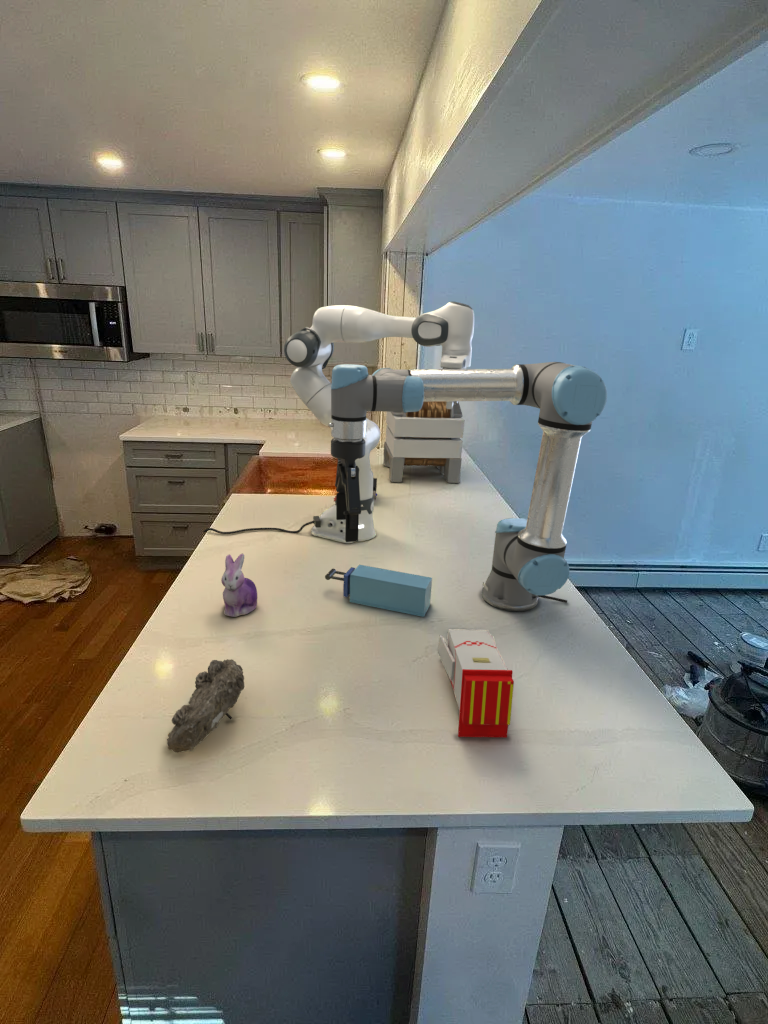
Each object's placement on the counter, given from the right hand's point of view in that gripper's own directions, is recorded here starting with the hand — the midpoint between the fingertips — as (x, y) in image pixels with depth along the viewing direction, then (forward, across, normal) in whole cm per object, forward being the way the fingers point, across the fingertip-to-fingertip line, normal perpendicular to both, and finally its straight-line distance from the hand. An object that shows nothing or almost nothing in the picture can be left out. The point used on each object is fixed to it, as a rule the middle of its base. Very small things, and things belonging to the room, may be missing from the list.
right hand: (346, 529), depth 130 cm
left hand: (-20, -46, +40) cm, 64 cm away
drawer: (+26, -14, +9) cm, 31 cm away
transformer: (+27, -135, +58) cm, 149 cm away
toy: (+27, +28, +22) cm, 44 cm away
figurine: (+26, -14, -25) cm, 39 cm away
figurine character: (+27, -98, +26) cm, 105 cm away
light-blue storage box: (+27, -12, +14) cm, 32 cm away
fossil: (+26, +26, -30) cm, 48 cm away
